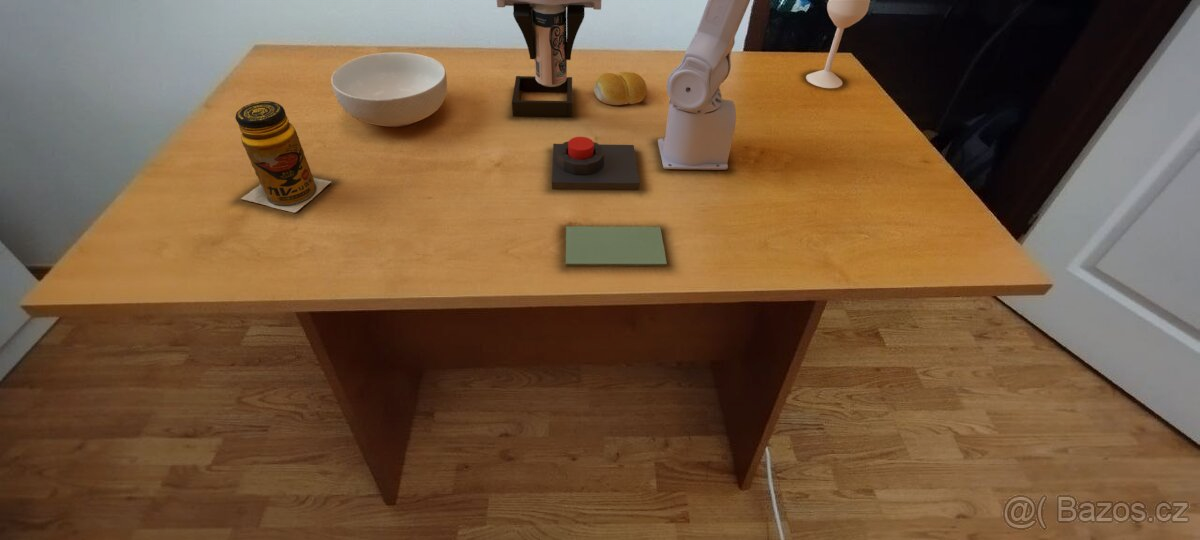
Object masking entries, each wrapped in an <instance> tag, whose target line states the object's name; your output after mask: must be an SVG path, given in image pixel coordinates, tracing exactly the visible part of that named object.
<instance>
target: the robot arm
mask: <svg viewBox="0 0 1200 540" xmlns="http://www.w3.org/2000/svg"><path fill="white" fill-rule="evenodd" d="M750 2H751V0H707V3H706V6H705V8H704V10H703V13H702V16H701V19H700V21H699V23H698V26H697V28H696V32H695V34H694V35H693V37H692V39H691V41H690V43H689V45H688V46H687V49H686V50H685V52H684V55H683V57H682V60H681V62H680V63H679V64H678V66H676V67H675V68H674V69H673V70H671V72H670V74H669V75H668V77H667V80H666V94H667V96H668V98H669V103H668V110H667V118H666V125H665V131H664V132H665V133H664V138H661V137H660V138H658V139H657V145H658V150H659V154H660V158H661V159H660V160H661V164H662V168H663V169H664V170H703V171H705V170H706V171H707V170H708V171H709V170H710V171H713V170H714V171H715V170H716V171H727V170H728V168H729V165H728V161H729V158H730V157H729V156H730V152H731V147H732V143H733V138H734V135H735V129H736V123H737V121H736V119H737V112H736V105H735V102H734V100H731V99H725V98H723V97H722V91H721V89H720V86H721V85H722V84H723V83H724V82H725V81H726V80H727V78H728V77H729V75H730V73H731V69H732V68H731V67H732V62H731V55H732V51H733V48H734V46H735V43H736V41H735V40H736V39H735V38H736V36H737V32H738V31H739V28H740V25H741V23H742V22H743V18H744V16H745V14H746V11H747V9H748V7H749V4H750ZM534 4H541V5H560V4H563V5H564V7H566V60H567V61H571V59H572V51H573V47H574V44H575V40H576V37H577V34H578V32H579V29H580V28H581V25H582V23H583V22H584V19H585V13H586V12H585V8H586V9H587V8H590V9H593V10H596V11H599V10H600V11H601V10H602V0H496V7H497V8H506V7H513V8H512V9H513V10H512V11H513V12H512V15H513V18H514V20H515V23H516V24H517V26H518V28H519V29H520V31H521V33H522V36H523V38H524V42H525V44H526V47H527V51H528V54H529V60H535V49H534V36H533V14H532V6H534Z"/></svg>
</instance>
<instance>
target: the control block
mask: <svg viewBox="0 0 1200 540" xmlns="http://www.w3.org/2000/svg"><path fill="white" fill-rule="evenodd" d="M568 142H569V140H567V141H565V142H562V143H553V145H552V167H551V168H552V169H551V190H577V191H578V190H579V191H580V190H584V191H587V190H588V191H589V190H595V191H597V190H598V191H639V190H640V177H639V171H638V164H637V158H636V150H635V145H634V144H605V143H604V144H602V143H601V144H600V143H598V142H595V141H593V142H594V155H593V157H592V158H588V159H585V160H577V159H574V158H571V157H569V155H568Z"/></svg>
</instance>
